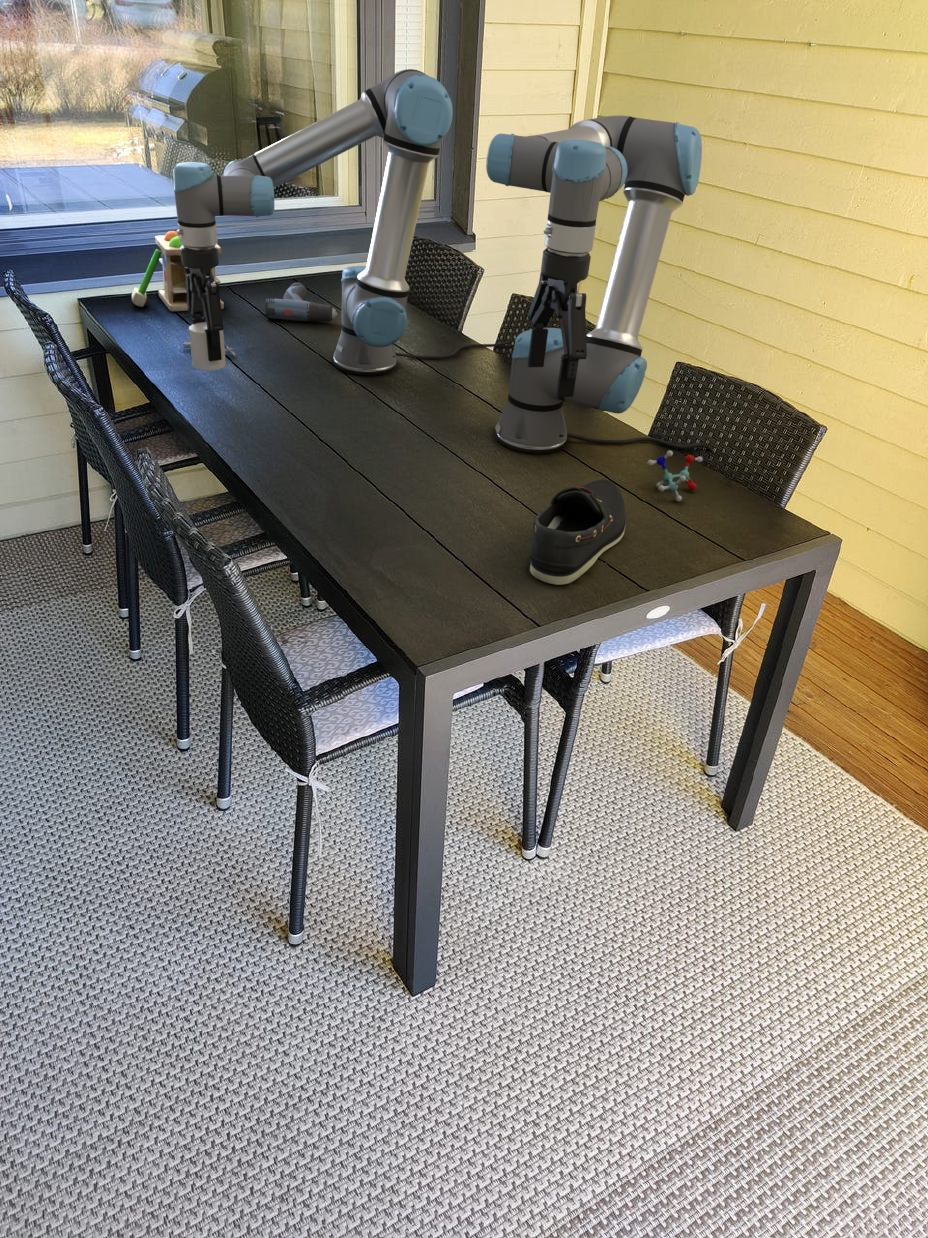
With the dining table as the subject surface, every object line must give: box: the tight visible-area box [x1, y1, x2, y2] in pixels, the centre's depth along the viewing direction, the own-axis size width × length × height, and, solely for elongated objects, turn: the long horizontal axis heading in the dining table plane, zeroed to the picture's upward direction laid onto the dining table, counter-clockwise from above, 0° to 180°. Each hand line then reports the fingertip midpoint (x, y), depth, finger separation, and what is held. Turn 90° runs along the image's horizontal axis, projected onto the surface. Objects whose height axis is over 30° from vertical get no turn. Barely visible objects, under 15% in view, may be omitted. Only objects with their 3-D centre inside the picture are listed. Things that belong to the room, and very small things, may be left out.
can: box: [188, 322, 227, 371], centre depth 214 cm, size 7×7×8 cm
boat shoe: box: [529, 479, 627, 586], centre depth 172 cm, size 13×33×10 cm, turn 147°
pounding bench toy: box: [131, 230, 225, 312], centre depth 259 cm, size 23×14×18 cm, turn 116°
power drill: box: [264, 282, 338, 322], centre depth 265 cm, size 5×19×20 cm
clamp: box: [182, 341, 239, 359], centre depth 235 cm, size 15×2×10 cm
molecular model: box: [646, 450, 704, 503], centre depth 192 cm, size 12×10×10 cm
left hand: (208, 353), depth 215 cm, fingers closed on can, 7 cm apart
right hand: (549, 381), depth 165 cm, fingers open, 13 cm apart
